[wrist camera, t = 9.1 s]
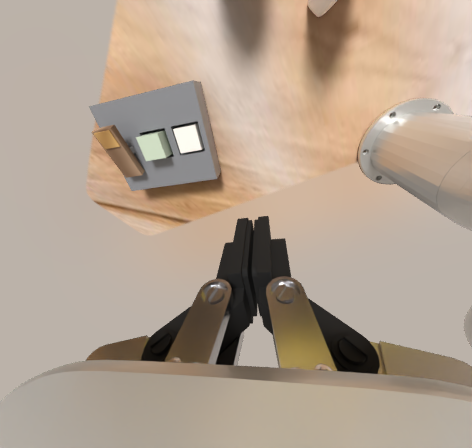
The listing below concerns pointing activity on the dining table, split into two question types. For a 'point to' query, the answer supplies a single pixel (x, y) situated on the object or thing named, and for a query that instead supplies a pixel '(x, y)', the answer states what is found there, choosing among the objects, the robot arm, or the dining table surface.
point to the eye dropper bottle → (320, 6)
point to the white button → (189, 138)
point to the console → (166, 118)
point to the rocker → (118, 150)
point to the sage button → (155, 145)
